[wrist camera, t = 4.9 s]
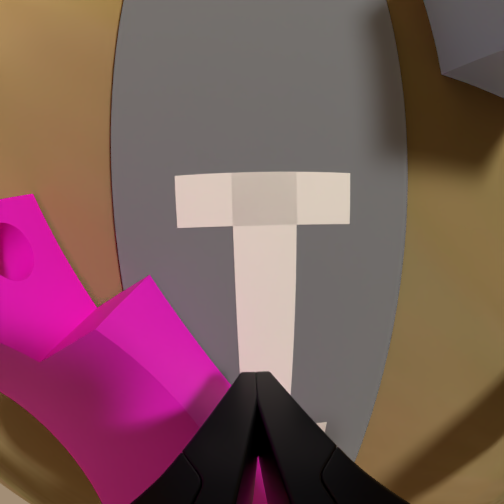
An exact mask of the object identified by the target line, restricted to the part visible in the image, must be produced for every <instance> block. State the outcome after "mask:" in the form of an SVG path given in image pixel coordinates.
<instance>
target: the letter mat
mask: <svg viewBox="0 0 504 504" xmlns="http://www.w3.org/2000/svg"><path fill="white" fill-rule="evenodd" d="M111 172H112V193H113V207H114V219H115V230H116V239H117V248H118V256H119V263H120V270H121V277H122V284H123V290H126V289H127V288H129V287H131V286H132V285H134V284H135V283H137V282H139V281H140V280H142V279H143V278H145V277H147V276H148V275H150V276H151V277H152V279H153V280H154V282H155V283H156V285H157V286H158V288H159V289H160V291H161V292H162V294H163V295H164V297H165V298H166V300H167V301H168V302H169V304H170V305H171V307H172V308H173V310H174V311H175V312H176V314H177V315H178V317H179V318H180V319H181V321H182V322H183V324H184V325H185V326H186V328H187V329H188V330H189V332H190V333H191V334H192V336H193V337H194V338H195V340H196V341H197V342H198V344H199V345H200V346H201V348H202V349H203V350H204V352H205V353H206V354H207V356H208V357H209V358H210V359H211V361H212V362H213V363H214V364H215V366H216V367H217V368H218V369H219V371H220V372H221V373H222V374H223V376H224V377H225V378H226V379H227V381H228V382H229V383H230V384H231V385H232V384H233V382H234V381H235V380H236V378H237V377H238V375H239V374H240V373H241V372H259V371H269V372H271V373H272V375H273V376H274V377H275V378H276V379H277V380H278V381H279V383H280V384H281V385H282V386H283V387H284V388H285V389H286V391H287V392H288V393H289V394H290V395H291V396H292V397H293V398H294V400H295V401H296V402H297V403H298V404H299V405H300V406H301V407H302V408H303V410H304V411H305V412H306V413H307V414H308V415H309V416H310V417H311V418H312V419H313V421H314V422H315V423H316V424H317V425H318V426H319V427H320V428H321V429H322V430H323V431H324V432H325V433H326V434H327V435H328V437H329V438H330V439H331V440H332V441H333V442H334V443H335V444H336V445H337V447H339V448H340V449H341V450H342V451H343V452H344V453H345V454H346V455H347V456H348V457H349V458H350V459H351V460H352V461H353V462H355V459H356V457H357V454H358V452H359V449H360V446H361V443H362V441H363V438H364V435H365V432H366V429H367V426H368V423H369V420H370V417H371V414H372V411H373V407H374V404H375V401H376V397H377V394H378V390H379V386H380V383H381V379H382V375H383V371H384V367H385V363H386V358H387V354H388V350H389V345H390V340H391V335H392V330H393V325H394V320H395V314H396V308H397V302H398V296H399V289H400V281H401V274H402V265H403V256H404V245H405V232H406V216H407V186H408V163H407V134H406V118H405V106H404V96H403V87H402V79H401V72H400V65H399V58H398V52H397V47H396V41H395V36H394V31H393V27H392V22H391V18H390V13H389V9H388V5H387V1H386V0H124V2H123V7H122V13H121V19H120V25H119V32H118V39H117V47H116V55H115V65H114V76H113V90H112V110H111Z"/></svg>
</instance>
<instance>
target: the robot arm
mask: <svg viewBox="0 0 504 504" xmlns="http://www.w3.org/2000/svg"><path fill="white" fill-rule="evenodd" d="M258 458H259V463H260V468H261V473H262V478H263V483H264V488H265V493H266V498H267V503H268V504H410V503H408V502H407V501H405V500H404V499H402V498H401V497H399V496H398V495H396V494H395V493H393V492H392V491H390V490H389V489H387V488H386V487H385V486H383V485H382V484H380V483H379V482H378V481H376V480H375V479H374V478H372V477H371V476H370V475H368V474H367V473H366V472H365V471H363V470H362V469H361V468H360V467H359V466H358V465H357V464H355V463H354V462H353V461H352V460H351V459H350V458H349V457H348V456H347V455H346V454H345V453H344V452H343V451H342V450H341V449H340V448H339V447H337V445H336V444H335V443H334V442H333V441H332V440H331V439H330V438H329V437H328V435H327V434H326V433H325V432H324V431H323V430H322V429H321V428H320V427H319V426H318V425H317V424H316V423H315V422H314V421H313V419H312V418H311V417H310V416H309V415H308V414H307V413H306V412H305V411H304V410H303V408H302V407H301V406H300V405H299V404H298V403H297V402H296V401H295V400H294V398H293V397H292V396H291V395H290V394H289V393H288V392H287V391H286V389H285V388H284V387H283V386H282V385H281V384H280V383H279V381H278V380H277V379H276V378H275V377H274V376H273V375H272V373H271V372H269V371H259V372H241V373H240V374H239V375H238V377H237V378H236V380H235V381H234V382H233V384H232V385H231V387H230V388H229V389H228V391H227V392H226V394H225V395H224V396H223V398H222V399H221V400H220V402H219V403H218V404H217V406H216V407H215V409H214V410H213V411H212V413H211V414H210V415H209V417H208V418H207V419H206V421H205V422H204V423H203V424H202V426H201V427H200V428H199V430H198V431H197V432H196V434H195V435H194V436H193V437H192V439H191V440H190V441H189V443H188V444H187V445H186V446H185V448H184V449H183V450H182V453H180V454H179V455H178V456H177V457H176V459H175V460H174V461H173V462H172V464H171V465H170V466H169V467H168V468H167V469H166V470H165V472H164V473H163V474H162V475H161V476H160V477H159V478H158V479H157V480H156V481H155V482H154V483H153V484H152V485H151V486H150V487H149V488H147V489H146V490H145V491H144V492H143V493H142V494H141V495H140V496H138V497H137V498H136V499H135V500H134V501H132V502H131V503H130V504H252V503H253V495H254V487H255V478H256V470H257V461H258Z"/></svg>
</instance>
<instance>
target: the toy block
mask: <svg viewBox="0 0 504 504" xmlns="http://www.w3.org/2000/svg"><path fill="white" fill-rule="evenodd" d="M230 387H231V384H230V383H229V382H228V381H227V379H226V378H225V377H224V376H223V374H222V373H221V372H220V371H219V369H218V368H217V367H216V366H215V364H214V363H213V362H212V361H211V359H210V358H209V357H208V356H207V354H206V353H205V352H204V350H203V349H202V348H201V346H200V345H199V344H198V342H197V341H196V340H195V338H194V337H193V336H192V334H191V333H190V332H189V330H188V329H187V328H186V326H185V325H184V324H183V322H182V321H181V319H180V318H179V317H178V315H177V314H176V312H175V311H174V310H173V308H172V307H171V305H170V304H169V302H168V301H167V300H166V298H165V297H164V295H163V294H162V292H161V291H160V289H159V288H158V286H157V285H156V283H155V282H154V280H153V279H152V277H151V276H150V275H148V276H147V277H145V278H143V279H142V280H140V281H139V282H137V283H135V284H134V285H132V286H131V287H129V288H127V289H126V290H124V291H123V292H121V293H120V294H118V295H116V296H115V297H113V298H112V299H110V300H109V301H107V302H106V303H104V304H102V305H101V306H99V307H98V308H97V307H96V305H95V304H94V302H93V301H92V299H91V298H90V296H89V295H88V293H87V292H86V290H85V289H84V287H83V286H82V284H81V282H80V281H79V279H78V278H77V276H76V274H75V273H74V271H73V269H72V268H71V266H70V264H69V263H68V261H67V259H66V257H65V256H64V254H63V252H62V250H61V249H60V247H59V245H58V243H57V241H56V239H55V238H54V236H53V234H52V232H51V230H50V228H49V226H48V224H47V222H46V220H45V218H44V216H43V214H42V212H41V210H40V208H39V206H38V204H37V201H36V199H35V197H34V195H33V194H29V195H22V196H16V197H10V198H5V199H0V392H1V393H3V394H4V395H6V396H7V397H9V398H11V399H12V400H13V401H15V402H16V403H17V404H19V405H20V406H22V407H23V408H24V409H25V410H27V411H28V412H29V413H30V414H31V415H33V416H34V417H35V418H36V419H37V420H38V421H39V422H40V423H42V424H43V425H44V426H45V427H46V428H47V429H48V430H49V431H50V432H51V433H52V434H53V435H54V436H55V437H56V438H57V439H58V440H59V442H60V443H61V444H62V445H63V446H64V447H65V448H66V449H67V451H68V452H69V453H70V455H71V456H72V457H73V458H74V459H75V461H76V462H77V464H78V465H79V466H80V468H81V469H82V470H83V472H84V473H85V475H86V476H87V478H88V479H89V481H90V482H91V484H92V486H93V488H94V489H95V491H96V493H97V494H98V496H99V498H100V500H101V502H102V504H130V503H131V502H132V501H134V500H135V499H136V498H137V497H138V496H140V495H141V494H142V493H143V492H144V491H145V490H146V489H147V488H149V487H150V486H151V485H152V484H153V483H154V482H155V481H156V480H157V479H158V478H159V477H160V476H161V475H162V474H163V473H164V472H165V470H166V469H167V468H168V467H169V466H170V465H171V464H172V462H173V461H174V460H175V459H176V457H177V456H178V455H179V454H180V453H182V450H183V449H184V448H185V446H186V445H187V444H188V443H189V441H190V440H191V439H192V437H193V436H194V435H195V434H196V432H197V431H198V430H199V428H200V427H201V426H202V424H203V423H204V422H205V421H206V419H207V418H208V417H209V415H210V414H211V413H212V411H213V410H214V409H215V407H216V406H217V404H218V403H219V402H220V400H221V399H222V398H223V396H224V395H225V394H226V392H227V391H228V389H229V388H230ZM252 504H268V503H267V498H266V493H265V488H264V483H263V478H262V473H261V468H260V463H259V458H258V461H257V470H256V478H255V487H254V495H253V503H252Z"/></svg>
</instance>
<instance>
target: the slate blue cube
mask: <svg viewBox="0 0 504 504" xmlns="http://www.w3.org/2000/svg"><path fill="white" fill-rule="evenodd" d="M423 1H424V5H425V8H426V11H427V14H428V18H429V21H430V25H431V29H432V33H433V37H434V41H435V45H436V50H437V54H438V59H439V64H440V70H441V75H444V76H447V77H451V78H453V79H456V80H459V81H462V82H465V83H468V84H470V85H473V86H475V87H478V88H480V89H483V90H485V91H488V92H490V93H492V94H495V95H497V96H499V97H502V98H504V0H423Z"/></svg>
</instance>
